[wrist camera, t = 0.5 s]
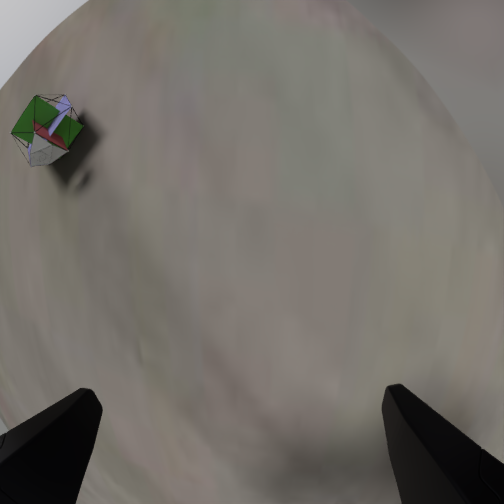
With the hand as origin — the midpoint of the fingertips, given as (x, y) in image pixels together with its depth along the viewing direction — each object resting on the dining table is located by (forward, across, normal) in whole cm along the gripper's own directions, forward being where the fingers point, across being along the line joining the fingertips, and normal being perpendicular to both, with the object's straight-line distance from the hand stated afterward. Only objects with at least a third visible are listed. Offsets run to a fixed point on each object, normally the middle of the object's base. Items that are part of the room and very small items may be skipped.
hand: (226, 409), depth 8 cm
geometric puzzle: (+20, +18, -12) cm, 30 cm away
